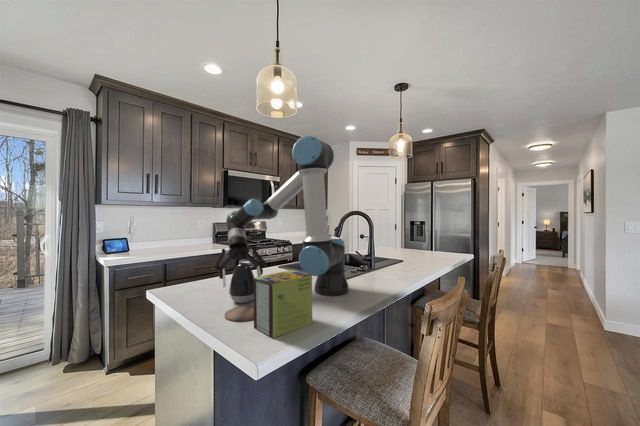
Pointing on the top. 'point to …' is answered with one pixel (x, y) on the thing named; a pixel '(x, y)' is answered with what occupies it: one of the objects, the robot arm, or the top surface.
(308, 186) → the robot arm
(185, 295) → the top surface
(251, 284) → the pump dispenser
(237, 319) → the walnut trivet
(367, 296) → the top surface
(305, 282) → the protein box
